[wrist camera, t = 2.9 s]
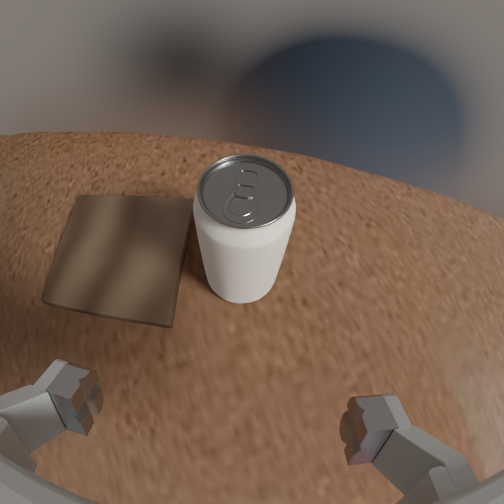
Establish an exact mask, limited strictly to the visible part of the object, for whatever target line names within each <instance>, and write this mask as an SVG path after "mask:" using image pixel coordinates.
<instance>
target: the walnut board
mask: <svg viewBox="0 0 504 504" xmlns="http://www.w3.org/2000/svg"><path fill="white" fill-rule="evenodd" d="M193 201H194V199H185V198H167V197H147V196H120V195H79V197H78V200H77V202H76V204H75V206H74V209H73V211H72V214H71V216H70V218H69V221H68V223H67V226H66V228H65V231H64V233H63V236H62V239H61V241H60V244H59V247H58V250H57V253H56V256H55V258H54V261H53V264H52V268H51V271H50V274H49V277H48V280H47V284H46V287H45V291H44V294H43V298H42V302H44V303H45V304H47V305H50V306H54V307H58V308H63V309H67V310H72V311H76V312H81V313H86V314H91V315H95V316H101V317H106V318H111V319H117V320H122V321H128V322H134V323H140V324H146V325H153V326H159V327H166V328H173V321H174V314H175V308H176V302H177V296H178V290H179V284H180V279H181V273H182V268H183V262H184V257H185V252H186V247H187V242H188V237H189V232H190V227H191V222H192V218H193Z"/></svg>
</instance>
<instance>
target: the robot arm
mask: <svg viewBox="0 0 504 504" xmlns="http://www.w3.org/2000/svg"><path fill="white" fill-rule="evenodd" d="M98 379H99V378H98V375H97V372H96V371H94V370H92V369H89V368H86V367H83V366H80V365H76V364H73V363H70V362H67V361H64V360H61V359H56V360H54V362H53V363H52V364H51V365H50V366H49V367H48V369H47V370H46V371H45V372H44V373H43V374H42V376H41V377H40V378H39V379H38V380H37V382H36V383H35V384H34V385H27V386H25V387H22V388H19V389H17V390H14V391H11V392H8V393H6V394H3V395H0V504H100V503H98V502H95V501H92V500H90V499H87V498H85V497H82V496H80V495H77V494H75V493H73V492H71V491H68V490H66V489H64V488H62V487H60V486H58V485H55V484H53V483H51V482H49V481H47V480H45V479H44V478H42V477H40V476H38V475H36V474H34V472H35V470H36V468H37V464H36V462H35V460H34V459H33V458H32V457H31V455H30V454H29V453H30V452H32V451H34V450H35V449H37V448H38V447H40V446H42V445H43V444H45V443H47V442H48V441H50V440H51V439H53V438H55V437H56V436H58V435H59V434H61V433H62V432H64V431H66V429H68V430H70V431H73V432H76V433H79V434H82V435H85V436H87V435H88V433H89V431H90V429H91V427H92V425H93V424H94V421H93V416H95V415H97V414H99V412H100V410H101V408H102V404H103V392H102V389H101V387H100V386H99V385H98V384H97V381H98ZM347 407H348V411H346V412H345V413H344V414H343V415H342V418H341V420H340V436H341V440H342V441H344V442H345V443H346V444H347V445H346V447H345V449H344V452H345V456H346V459H347V463H348V465H356V464H364V463H372V465H373V466H375V467H376V468H377V469H378V470H379V471H380V472H381V473H382V474H383V475H384V476H385V477H386V478H387V479H388V480H389V481H390V482H391V483H392V484H394V485H395V486H396V487H397V488H398V489H399V490H400V491H401V492H402V493H403V494H404V495H405V496H404V497H403V498H401V499H400V500H399V501H398V502H397V503H396V504H504V470H502V471H500V472H498V473H497V474H495V475H493V476H491V477H489V478H487V479H486V480H484V481H482V482H480V483H479V482H478V480H477V478H476V476H475V474H474V472H473V470H472V468H471V466H470V464H469V462H468V460H467V459H466V457H465V456H464V455H463V454H461V453H459V452H457V451H456V450H454V449H452V448H451V447H449V446H447V445H446V444H444V443H443V442H441V441H439V440H438V439H436V438H434V437H433V436H431V435H430V434H428V433H426V432H425V431H423V430H422V429H420V428H419V427H417V426H412V425H411V423H410V421H409V419H408V417H407V415H406V413H405V411H404V409H403V407H402V405H401V403H400V401H399V400H398V398H397V396H396V395H395V394H394V393H389V394H380V395H369V396H356V397H351V398H350V399H349V401H348V404H347Z"/></svg>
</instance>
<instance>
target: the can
mask: <svg viewBox="0 0 504 504" xmlns="http://www.w3.org/2000/svg"><path fill="white" fill-rule="evenodd" d="M295 213H296V203H295V199H294V188H293V184H292V181H291V179H290V177H289V175H288V174H287V173H286V171H285V170H284V169H283V168H282V167H281V166H279V165H278V164H277V163H275V162H273V161H272V160H270V159H267V158H265V157H262V156H258V155H252V154H236V155H231V156H227V157H224V158H221V159H219V160H217V161H215V162H214V163H212V164H211V165H210V166H208V167H207V168H206V169H205V171H204V172H203V173H202V175H201V176H200V178H199V181H198V185H197V192H196V194H195V197H194V201H193V214H194V221H195V226H196V231H197V236H198V241H199V246H200V251H201V255H202V260H203V265H204V269H205V273H206V277H207V280H208V283H209V285H210V287H211V288H212V290H213V291H214V292H215V293H216V294H217V295H218V296H220V297H221V298H222V299H224V300H226V301H229V302H233V303H250V302H253V301H256V300H258V299H260V298H262V297H263V296H264V295H266V294H267V293H268V292H269V290H270V289H271V288H272V286H273V284H274V282H275V279H276V276H277V273H278V270H279V268H280V265H281V261H282V258H283V255H284V252H285V249H286V246H287V243H288V240H289V236H290V233H291V230H292V227H293V223H294V219H295Z"/></svg>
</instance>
